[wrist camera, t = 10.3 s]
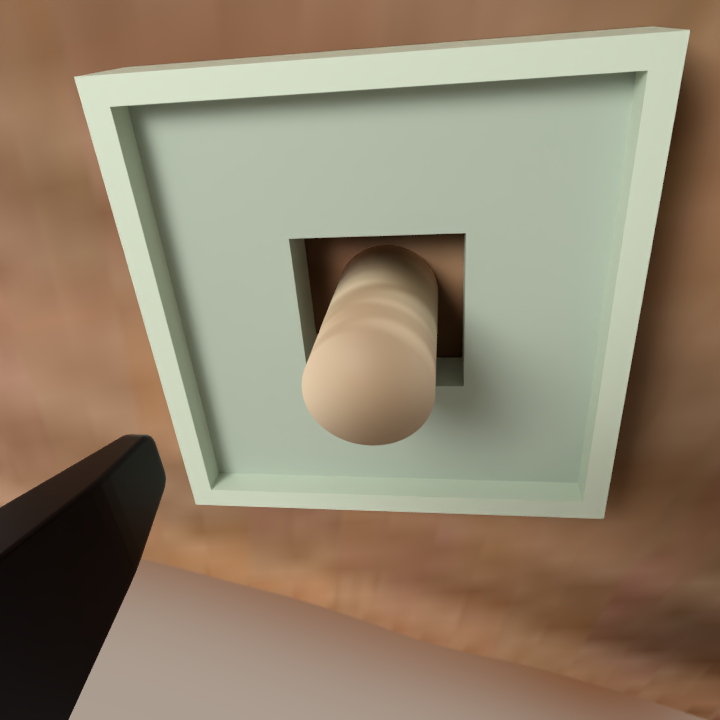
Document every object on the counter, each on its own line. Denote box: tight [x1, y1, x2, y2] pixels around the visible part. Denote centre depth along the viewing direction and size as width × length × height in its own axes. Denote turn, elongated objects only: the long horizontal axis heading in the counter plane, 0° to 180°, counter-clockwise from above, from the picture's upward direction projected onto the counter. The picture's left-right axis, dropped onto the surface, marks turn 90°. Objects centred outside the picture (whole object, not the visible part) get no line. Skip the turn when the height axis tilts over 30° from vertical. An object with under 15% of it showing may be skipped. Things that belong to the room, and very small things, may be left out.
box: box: [74, 26, 690, 519], centre depth 20 cm, size 16×16×3 cm
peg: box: [302, 245, 438, 446], centre depth 19 cm, size 4×4×6 cm
